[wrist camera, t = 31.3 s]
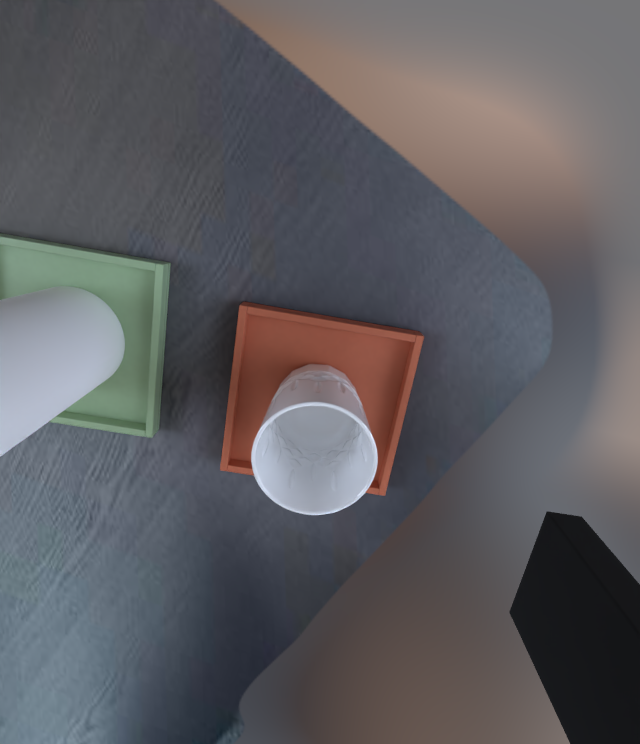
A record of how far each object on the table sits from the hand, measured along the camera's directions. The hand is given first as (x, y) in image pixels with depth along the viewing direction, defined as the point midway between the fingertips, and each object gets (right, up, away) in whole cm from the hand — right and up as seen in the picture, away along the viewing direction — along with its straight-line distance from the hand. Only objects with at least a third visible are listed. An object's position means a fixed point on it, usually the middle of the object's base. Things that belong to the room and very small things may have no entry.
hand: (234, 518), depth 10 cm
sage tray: (-18, +6, +27) cm, 33 cm away
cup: (-18, +6, +27) cm, 33 cm away
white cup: (+2, +1, +29) cm, 29 cm away
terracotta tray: (+2, +1, +29) cm, 29 cm away
